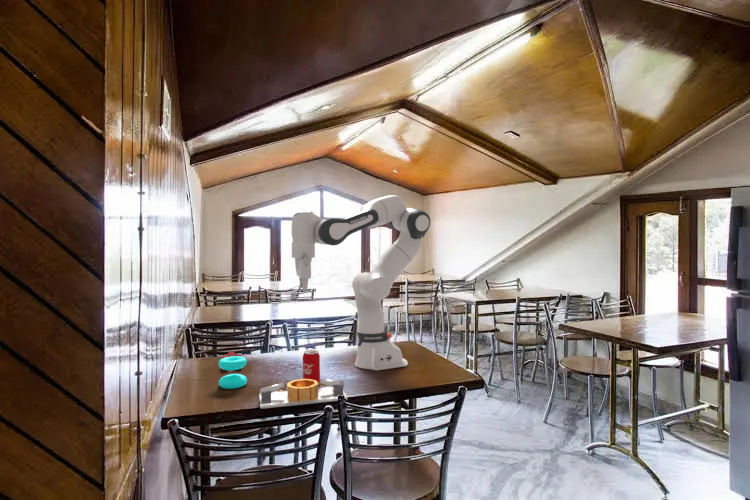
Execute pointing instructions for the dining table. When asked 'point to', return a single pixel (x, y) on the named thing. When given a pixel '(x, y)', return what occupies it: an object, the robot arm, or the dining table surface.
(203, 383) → the dining table surface
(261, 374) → the dining table surface
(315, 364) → the beverage can
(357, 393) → the dining table surface
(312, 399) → the coupling base
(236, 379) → the donuts
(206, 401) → the dining table surface
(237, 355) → the mechanical linkage
